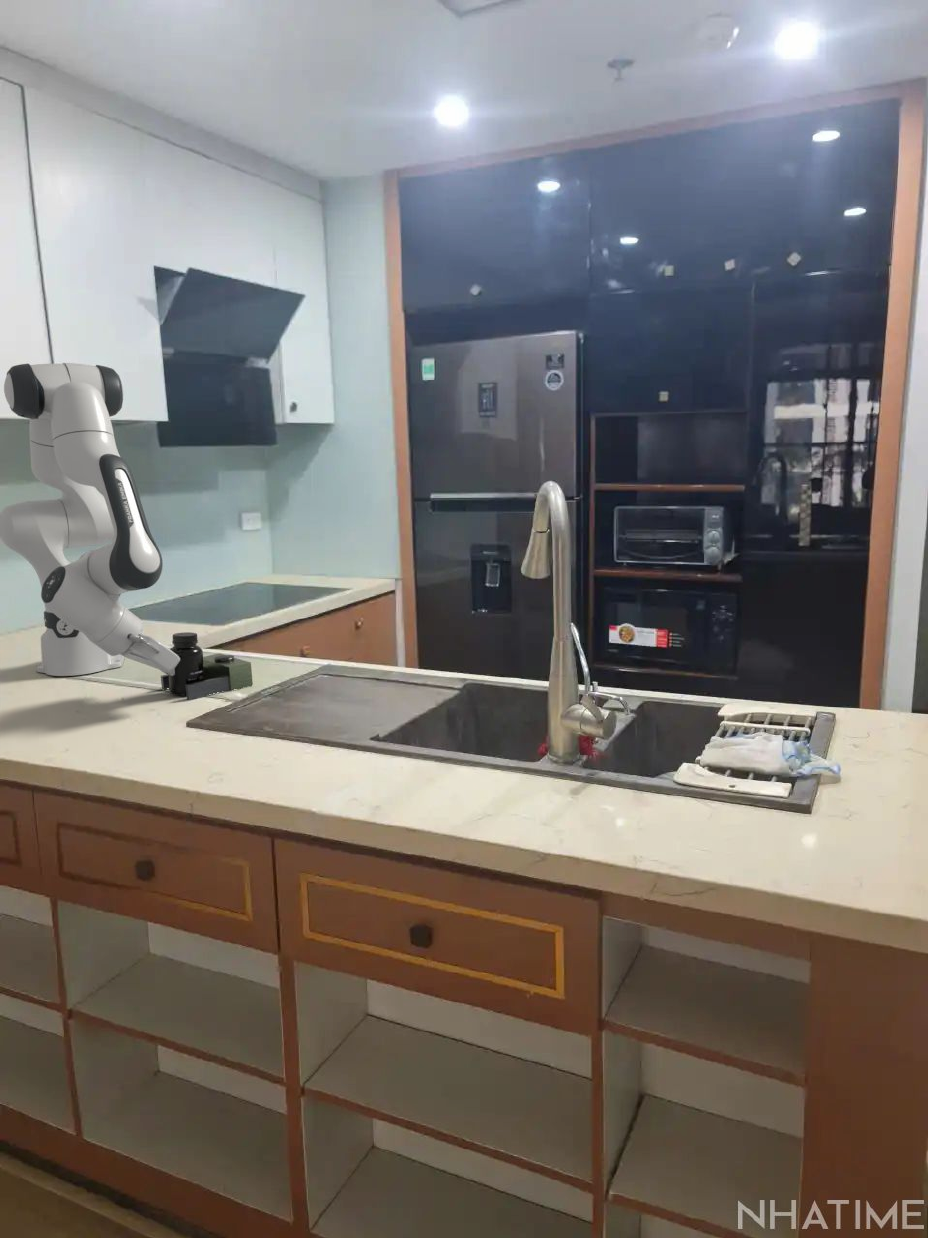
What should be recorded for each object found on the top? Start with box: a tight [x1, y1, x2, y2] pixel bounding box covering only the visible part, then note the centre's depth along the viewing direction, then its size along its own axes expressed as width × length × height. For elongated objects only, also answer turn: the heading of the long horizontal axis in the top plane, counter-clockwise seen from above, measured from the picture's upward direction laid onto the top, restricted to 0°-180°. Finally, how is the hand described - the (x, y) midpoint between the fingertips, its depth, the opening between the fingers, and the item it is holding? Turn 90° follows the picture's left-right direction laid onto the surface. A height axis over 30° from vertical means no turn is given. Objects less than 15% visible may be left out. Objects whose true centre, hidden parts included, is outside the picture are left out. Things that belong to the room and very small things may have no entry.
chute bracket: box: [160, 653, 254, 701], centre depth 183 cm, size 14×13×6 cm
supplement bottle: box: [169, 631, 204, 696], centre depth 179 cm, size 7×7×12 cm
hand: (172, 672), depth 177 cm, fingers closed
